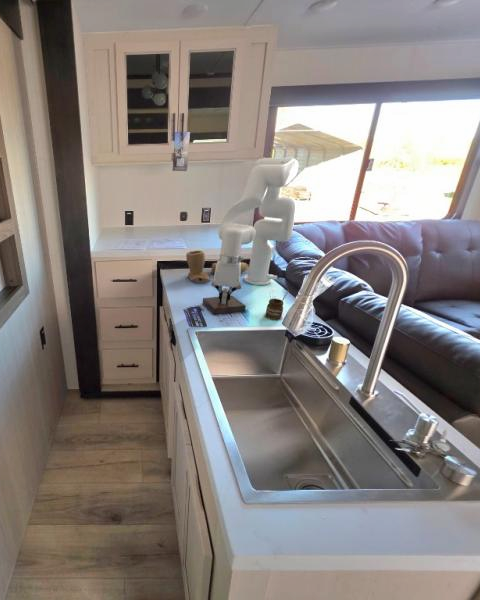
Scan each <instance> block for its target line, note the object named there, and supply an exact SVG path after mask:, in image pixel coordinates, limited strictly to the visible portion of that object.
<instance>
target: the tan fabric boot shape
mask: <svg viewBox="0 0 480 600" xmlns="http://www.w3.org/2000/svg"><path fill="white" fill-rule="evenodd" d="M185 256H186V262H187V266H188V268H189V272H188V275H187V276H188V278H189V279H190V281H192V282H195V283H197V284H206V283H209V282H211V279H210V277H209V275H208V274H207V273H206V272H205V271H204V268H205V267H204V266H205V263H206V254H205V252H204V251H202V250H191V251H188V252H186V255H185Z"/></svg>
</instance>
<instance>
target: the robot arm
mask: <svg viewBox="0 0 480 600" xmlns="http://www.w3.org/2000/svg"><path fill="white" fill-rule="evenodd" d="M298 170H299V162H298V160H297V159H296V158H294V157H264V158H259V159H257V160H256V161H255V162H254V165H253V168H252V169H251V171H250V173H249V176H248V179H247V182H246V184H245V188H244V190H243V192H242V195H241V198H240V199H239V200H237V201H236V202H235V203H233V204H232V205H231V206H229V208H228V209H227V210H226V211H225V213H224V214H223V216H222V220H221V222H220V225H219V228H218V232H217V233H218V234H217V235H218V237H219V240H221V246H220V255H219V259H217V262H216V263H217V265H216V269H215V274H214V276H213V280H212V281H211V283H210V286H211V287H212V288H215V290H216V291H217V292H218V297H219V298H218V299H220V302H222V294H223V287H226V288H228V291H227V299H226V302H227V303H228V300H230V296H231V295H232V293H234V292H235V291H238V290H242V284H241V274H242V272H241V262H242V261H244V256H241V251H242V245H248V244H250V243H252V246H251V253H250V259H249V264H248V269H247V275H245V276H244V277H243V281H244V282H245V283H247V284H249V285H255V286H266V285H269V284H270V282H271V280H278V275H274V274H269V272H270V271H269V270H270V264H271V260H272V259H271V258H272V254H273V245H272V243H271V242H272V241H273V242H280V243H287V242H288V241H290V240H291V238H292V235H293V231H294V225H295V220H296V213H297V206H298V205H297V201H296V199H295V198H293V197H288V196H287V197H286V196H282V195H281V194H282V188H283V187H286V186H287V185H288V183H290V182H291V181H292V180H293V179H294V178H295V177H296V175H297V173H298ZM257 208H258V215H259V216H261V217H262V218H263V217H264V218H263V219H259V220H256V221H255V223H254V224H253V225H250V224H241V223H236V222H235V223H234V222H233V221H234V219H235V218H236V217H237V216H239V215H241V214H243V213H245V212H250V211H252V210H255V209H257ZM265 218H268V219H265ZM270 218H271V219H270ZM275 219H280V220H275ZM270 241H271V242H270Z"/></svg>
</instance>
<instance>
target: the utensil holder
mask: <svg viewBox="0 0 480 600" xmlns="http://www.w3.org/2000/svg"><path fill="white" fill-rule="evenodd" d="M272 292H275V290H273V289H272V290H271V291H269V294H272ZM288 292H289V290H287V291H286V293H285V295H283V298H282V299H279V298H276V297H273V298H272V297H269V300H268V303H267V305H266V309H265V317H266V318H268V319H270V320H273V321H278V320H281V319H282V316H283V312H284V300H285V298H286V297H287V294H288Z"/></svg>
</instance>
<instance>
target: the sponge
mask: <svg viewBox="0 0 480 600" xmlns="http://www.w3.org/2000/svg"><path fill="white" fill-rule="evenodd" d="M240 262H241V273H243V272H245V271H248V270H249V264H248V263H247V262H243V261H240ZM216 265H217V262H214V263H211V273H212V274H214V275H215V269H216Z"/></svg>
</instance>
